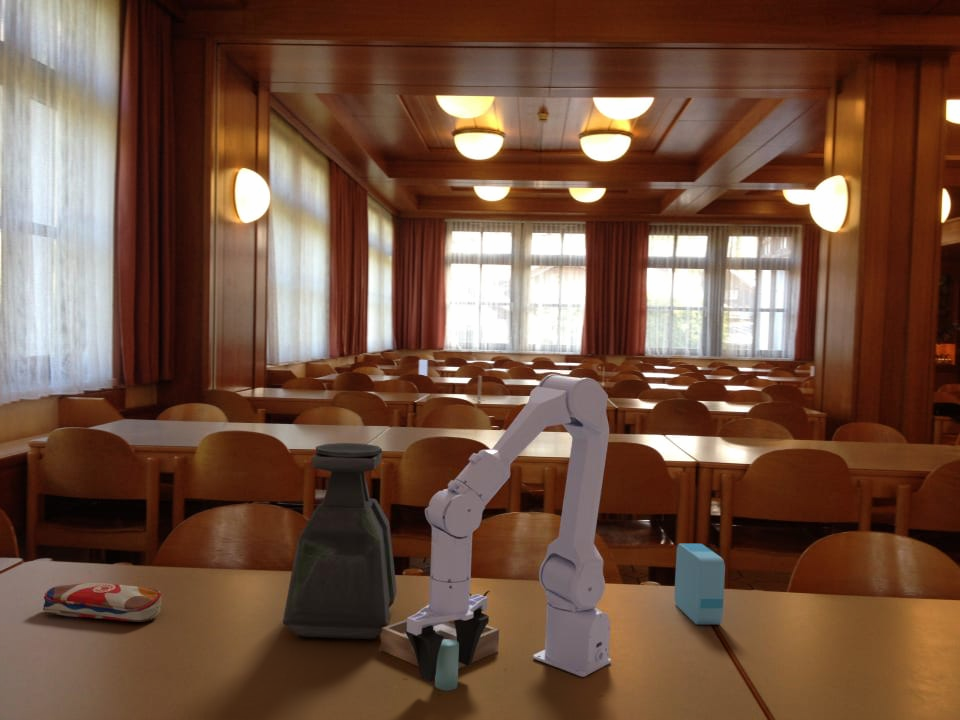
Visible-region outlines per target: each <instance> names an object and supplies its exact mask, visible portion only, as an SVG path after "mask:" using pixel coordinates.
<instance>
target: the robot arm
mask: <svg viewBox="0 0 960 720" xmlns="http://www.w3.org/2000/svg"><path fill="white" fill-rule="evenodd" d="M608 398H609V395H608V393H607V392H606V391H605V390H604V388H603V387H602V386H601V385H600V384H599V382H598V381H597V380H595V379H593V378H589V377H573V376H566V375H565V376H564V375H560V374H557V373H551V374H547V375H546V376H545V377H543V378H542V379H541V380H540V382H539V383H538V385H537V386H536V387H534V388H533V389H532V390H531V392H530V394H529V398H528V400H527V403H526V404H525V405H524V406H523V408H522V410H521V411H520V412H519V413H518V415H517V416H516V417H515V418H514V420H513V421H512V422H511V424H510V425H509V426H508V428H507V429H506V430H505V432H504V433H503V434H502V436H501V437H500V438H499V439H498V441H497V442H496V443H495V444H494V445H493V447H492V448H490V449H481V450H479V451H478V453H475V452H473V453H472V454H471V455H470V456H469V458H468V461H469V463H468V464H467V465H465V467H464V468H463V470H461V472H460V473H459V474H458V475H457V476H456V477H455V479H454V480H453V479H452V480H450V481H449V483H447V488H445V489H442V490H438V492H436V493H435V494H434V495H433V496H432V497H431V498H430V500H429V503H428V506H427V507H426V508H424V515H425V518H426V519H425V520H426V521H427V522H428V524H429V525H430V527H431V547H430V549H431V550H430V569H429V570H430V572H429V573H430V574H429V592H428V593H429V596H428V604H427V605H426V606H424V607H423V608H421V609H420V610H419V611H417V612H416V613H415V614H413V615H410V616H407V617H406V620H407V627H406V635H407V637H408V638H409V640H410V642H411V644H412V646H413V649H414V652H415V655H416V658H417V662H418V666H419V667H418V666H417V667H418V670H419V675H420V678H421V679H423V680H425V681H426V682H429V683H432V682H435V675H436V667H437V658H438V653H439V649H440V646H441V643H442V641H443V639H444V636H442V635H439V634H436V633H435V630H433V627H434V626H437V625H440V624H443V623H445V622H448V621H452V620H454V623H455V628H456V636H457V642H458V643H459V658H458V662H460V663H462V664H465V665H466V666H467V667H469V666H472V664H473V663H472V660H473V656H474V653H475V649H476V646H477V643H478V641H479V638H480V636H481V634H482V632H483V630H484V628H485V627H486V625H488V624H489V623H490V616H489V615H488V614H486V613H484V612H485V611H487V610H488V597H487V596H483V594H478V593H477V594H473V595H472V596H470V594H471V571H472V550H473V549H472V548H473V532H474V531H476V530H478V529H479V527H480V525H481V522H482V519H483V512H484V510H485V509H486V506H487V504H488V503H490V501H491V500H492V498H493V497H494V496H495V495H496V494H497V492H499V490H500V489H501V488H502V487H503V485H504V484H505V483H506V482H507V481H508V480H509V479H510V477H511V464H512V463H513V462H514V461H515V460H516V458H518V457H519V455H521V453H523V452H524V451H525V449H526V448H527V447H528V446H529V445H530V444H531V443H532V442H533V441H534V440H535V439H536V438H537V437H538V436H539V435H540V434H541V433H542V432H544V430H545V429H547V428H548V427H552V426H553V427H554V426H559V425H562V427H564V429H565V430H566V431H567V433H569V435H570V436H571V438H572V439H571V440H572V441H571V448H570V454H569V460H568V467H567V475H566V482H565V488H564V496H563V502H562V509H561V510H562V511H561V517H560V524H559V531H558V537H557V538H555V539H554V540H552V541H551V543H549V544H548V545H547V550H546V553H545V554H546V555H545V557H544V560H543V561H542V563H541V565H540V567H539V571H538V578H539V579H538V580H539V583H540V585H541V586H542V588H543V589H544V590H545V598H546V599H547V600H546V618H545V619H546V623H545V642H544V649H543V650H540V651H539V652H537V653H534V654H533V655H532V658H533V659H534V660H537V661H539V662H542V663H545V664H547V665H550V666H552V667H555V668H558V669H560V670H563V671H566V672H568V673H571V674H573V675H576V676H578V677H583V678H585V677H587V676H588V675H590V674H591V673H593V672H596V671H598V670H599V669H601V668H603V667H605V666H607V665H609V664H610V663H612V659H611V658H610V639H611V638H610V635H611V623H610V622H611V621H610V618H609V616H608V614H607V613H605V612H603V611H601V610H600V609H598V607H597V605H598V604H599V602H600V601H601V600H602V599H603V596H604V594H605V591H606V581H605V577H604V571H603V570H604V563H605V562H604V559H603V557H602V556H601V554H600V552H599V550H598V549H597V547H596V545H595V536H596V531H597V523H598V521H597V520H598V516H599V508H600V502H601V495H602V487H603V480H604V472H605V466H606V459H607V453H608V444H609V437H610V425H609V421H608V415H607V406H608V400H609V399H608Z"/></svg>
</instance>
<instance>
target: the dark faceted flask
mask: <svg viewBox="0 0 960 720" xmlns="http://www.w3.org/2000/svg"><path fill="white" fill-rule="evenodd" d="M315 451H316V452H315V454H313V455H312V456H311V462H312V463H311V468H314V469H316V470H322V471H327V472H330V473H331V474H330V475H329V480H328V484H327V487H326V492H325V495H324V498H323V500H322V501H321V503H320V504H318V505H317V506H316V508H315V509H314V510H313V512H312V514H311V516H310V518H308V519H309V520H307V523H306V524H305V526H304V527H303V529H302V530H301V533H300V534H299V536H298V538H297V543H296V546H295V547H296V548H295V554H294V558H293V563H292V568H291V569H292V570H291V575H290V580H289V585H288V592H287V596H286V602H285V609H284V613H283V619H282V625H284V627H285V626H286V628H288V629H289V630H290V631H291V632H292V633H294V634H295V635H296V636H298V637H300V638H301V637H302V638H322V639H323V638H324V639H326V638H327V639H350V640H351V639H353V640H375V639H376V638H377V637H378V636H379V635H380V634H382V628H383V627H386V626H388V622H389V619H390V617H391V616H390V615H391V614H390V613H391V612H390V608H391V607H392V605H393V604H394V602H395V598H396V596H397V592H398V591H397V582H396V581H397V580H396V574H395V563H394V553H393V552H394V551H393V545H392V536H391V535H392V534H391V525H390V521H389V519H388V518H387V515H386V514H385V512H384V510H383V508H382V507H381V505H380V504H379V502H378V500H377V499H375V498H372V497H371V498H370V493H369V487H368V484H367V483H368V482H367V478H366V472H370V471H375V470H376V468H377V467H378V465H379V464H380V462H381V461H382V459H383V457H382V455H383V453H382V452H383V449H382V448H381V447H380V446H379V445H375V444H368V443H354V442H351V443H349V442H339V443H338V442H337V443H326V444H325V443H324V444H322V445H321V444H320V445H317V446H315Z"/></svg>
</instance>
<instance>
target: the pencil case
mask: <svg viewBox="0 0 960 720" xmlns="http://www.w3.org/2000/svg"><path fill="white" fill-rule="evenodd" d="M162 596H163V595H162V592H161V591H159V590H157V589H154V588H150V587H142V586H141V587H140V586H135V585H127V584H126V585H125V584H117V583H116V584H115V583H104V582H100V583H97V582H91V583H89V582H88V583H87V582H86V583H83V582H82V583H75V584H61V585H55V586H53V587H51V588H49V589H48V590H47V591H46V592H45V593H44V595H43V599H44V604H43V608H42V610H43V612H45V613H48V614H51V615H57V616H65V617H71V618H72V617H73V618H92V619H102V620H103V619H104V620H115V621H121V622H133V623H135V622H137V623H142V622H147V621H148V622H149V621H151V620H152V619H154V618H155V617H156V616H157V615H159V614H160V612H161V610H162V606H163V605H162Z"/></svg>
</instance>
